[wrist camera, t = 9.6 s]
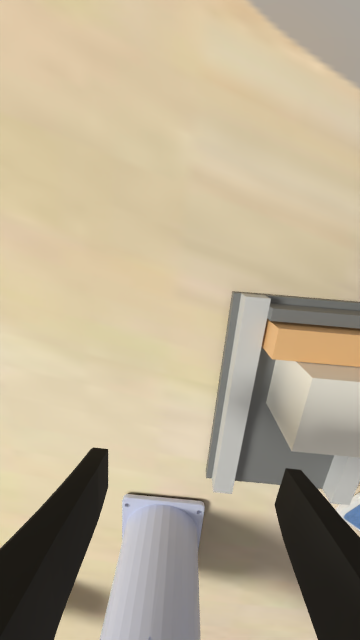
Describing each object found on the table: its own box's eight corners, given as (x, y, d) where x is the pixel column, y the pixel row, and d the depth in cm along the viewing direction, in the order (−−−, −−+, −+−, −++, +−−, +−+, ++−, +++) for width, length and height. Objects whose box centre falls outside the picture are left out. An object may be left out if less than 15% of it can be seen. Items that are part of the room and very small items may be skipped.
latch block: (370, 353, 16) (403, 370, 13) (259, 343, 16) (272, 359, 13) (380, 326, 15) (416, 340, 13) (264, 316, 15) (278, 328, 13)
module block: (329, 408, 17) (375, 459, 13) (266, 402, 17) (291, 451, 13) (347, 350, 16) (407, 386, 12) (279, 344, 16) (312, 378, 12)
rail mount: (341, 484, 20) (360, 513, 18) (205, 471, 20) (208, 498, 18) (410, 306, 15) (449, 315, 13) (232, 291, 16) (239, 297, 13)
